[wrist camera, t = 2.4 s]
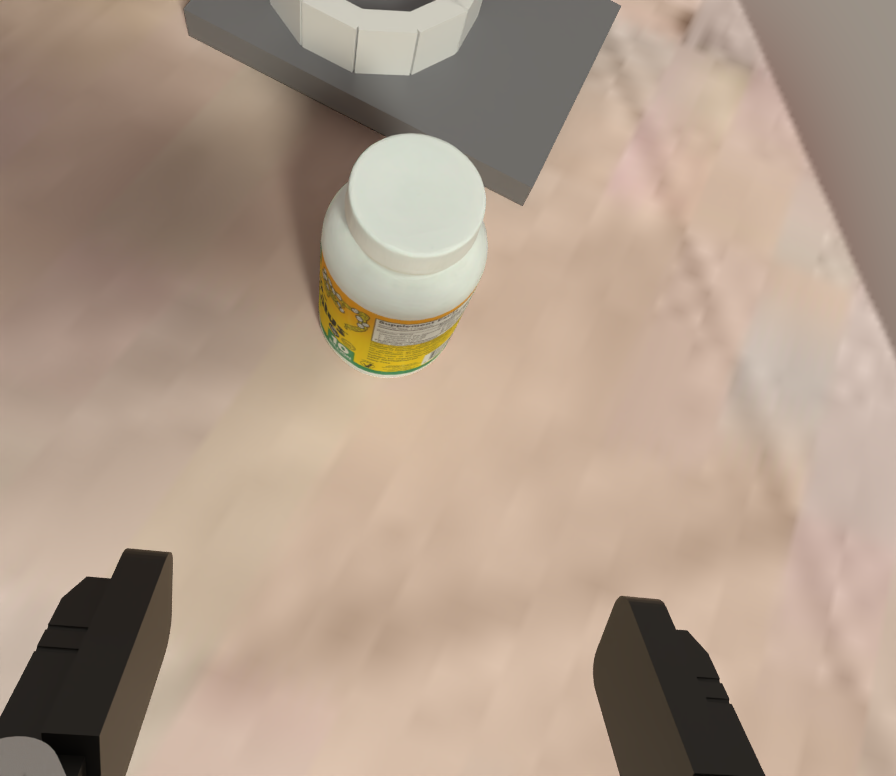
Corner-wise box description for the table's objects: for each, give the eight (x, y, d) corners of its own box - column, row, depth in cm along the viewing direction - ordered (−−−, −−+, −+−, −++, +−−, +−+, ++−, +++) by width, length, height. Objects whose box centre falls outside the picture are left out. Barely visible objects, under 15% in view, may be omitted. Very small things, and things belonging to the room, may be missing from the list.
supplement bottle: (458, 376, 31) (523, 278, 21) (323, 385, 29) (331, 286, 20) (442, 253, 32) (497, 111, 23) (312, 257, 31) (316, 111, 22)
